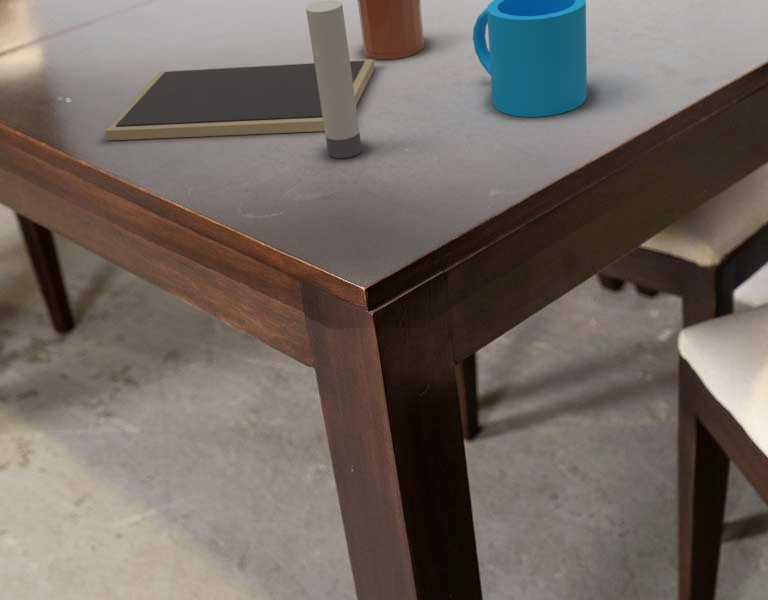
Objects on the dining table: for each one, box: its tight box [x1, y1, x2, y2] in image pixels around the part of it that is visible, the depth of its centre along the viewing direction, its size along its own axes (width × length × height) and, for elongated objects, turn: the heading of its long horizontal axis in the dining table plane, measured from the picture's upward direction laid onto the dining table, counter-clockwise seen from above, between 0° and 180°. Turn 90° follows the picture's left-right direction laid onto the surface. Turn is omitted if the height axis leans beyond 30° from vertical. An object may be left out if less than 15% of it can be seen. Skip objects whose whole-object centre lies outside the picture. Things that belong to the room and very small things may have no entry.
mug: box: [472, 0, 588, 118], centre depth 95 cm, size 12×8×8 cm
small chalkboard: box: [105, 58, 376, 141], centre depth 103 cm, size 22×15×1 cm
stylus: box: [305, 0, 363, 159], centre depth 88 cm, size 3×3×12 cm
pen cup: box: [357, 0, 425, 61], centre depth 109 cm, size 6×6×8 cm
